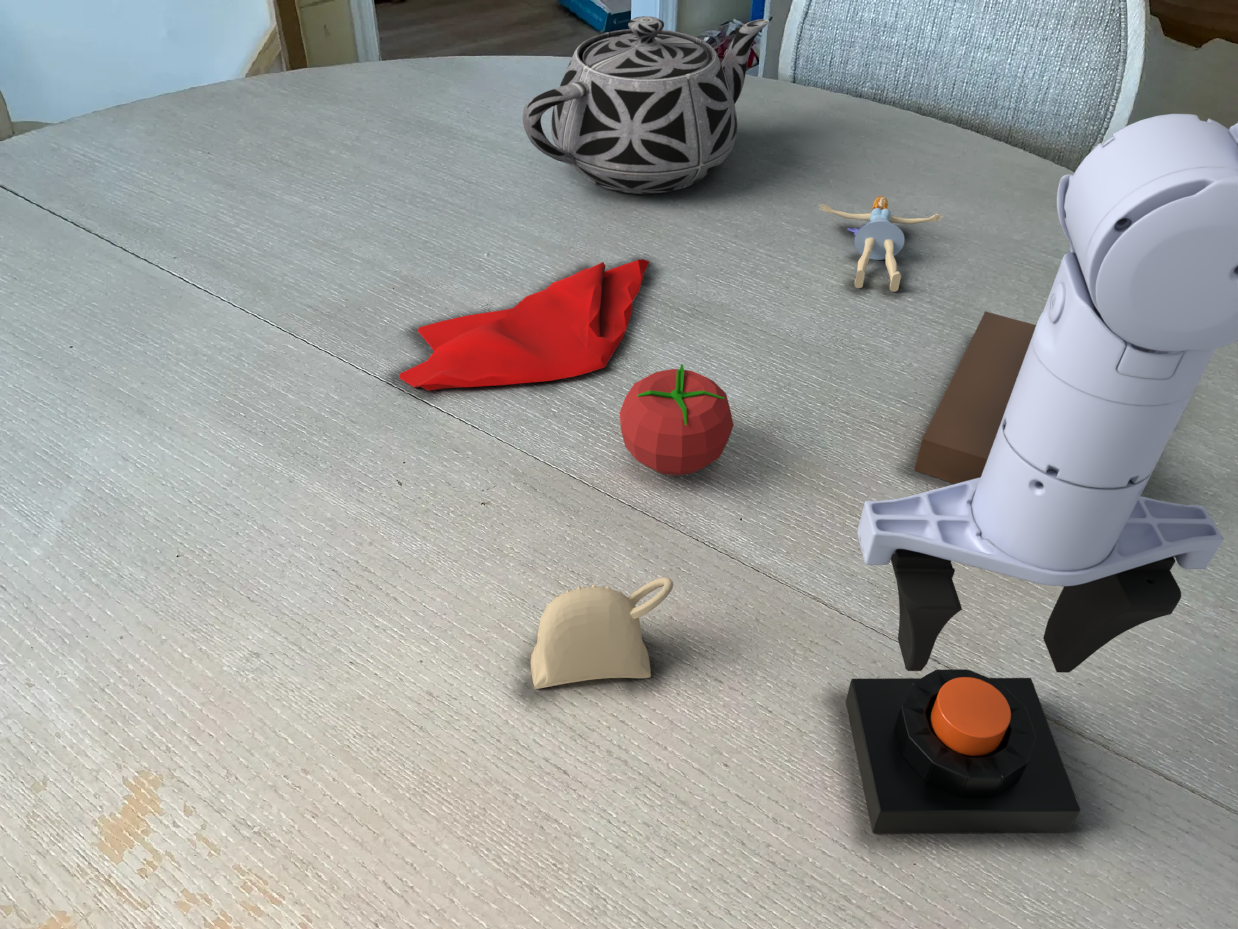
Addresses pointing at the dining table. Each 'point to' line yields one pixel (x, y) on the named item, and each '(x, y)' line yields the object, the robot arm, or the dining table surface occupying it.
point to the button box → (956, 762)
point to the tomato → (676, 421)
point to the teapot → (644, 107)
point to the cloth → (534, 334)
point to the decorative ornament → (594, 635)
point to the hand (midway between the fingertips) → (983, 654)
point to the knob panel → (975, 401)
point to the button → (970, 716)
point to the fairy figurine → (879, 238)
